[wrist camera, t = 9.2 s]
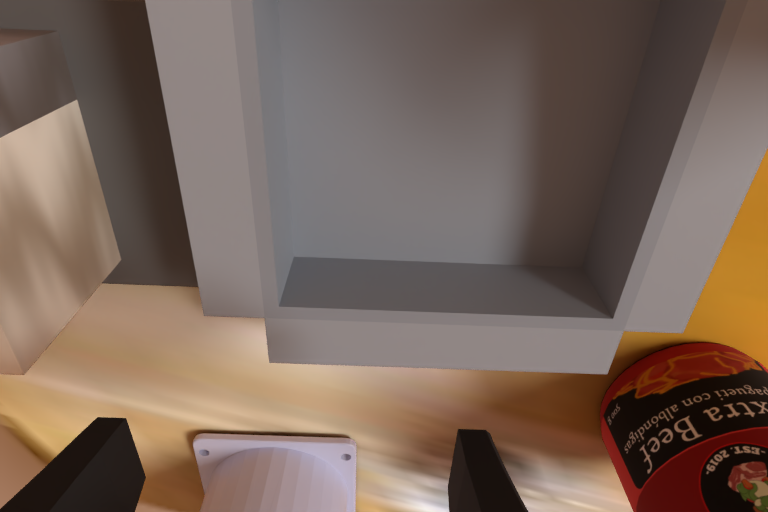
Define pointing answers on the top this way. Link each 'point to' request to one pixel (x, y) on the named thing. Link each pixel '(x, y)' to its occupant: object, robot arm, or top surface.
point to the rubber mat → (122, 129)
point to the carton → (460, 170)
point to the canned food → (690, 430)
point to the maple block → (45, 200)
